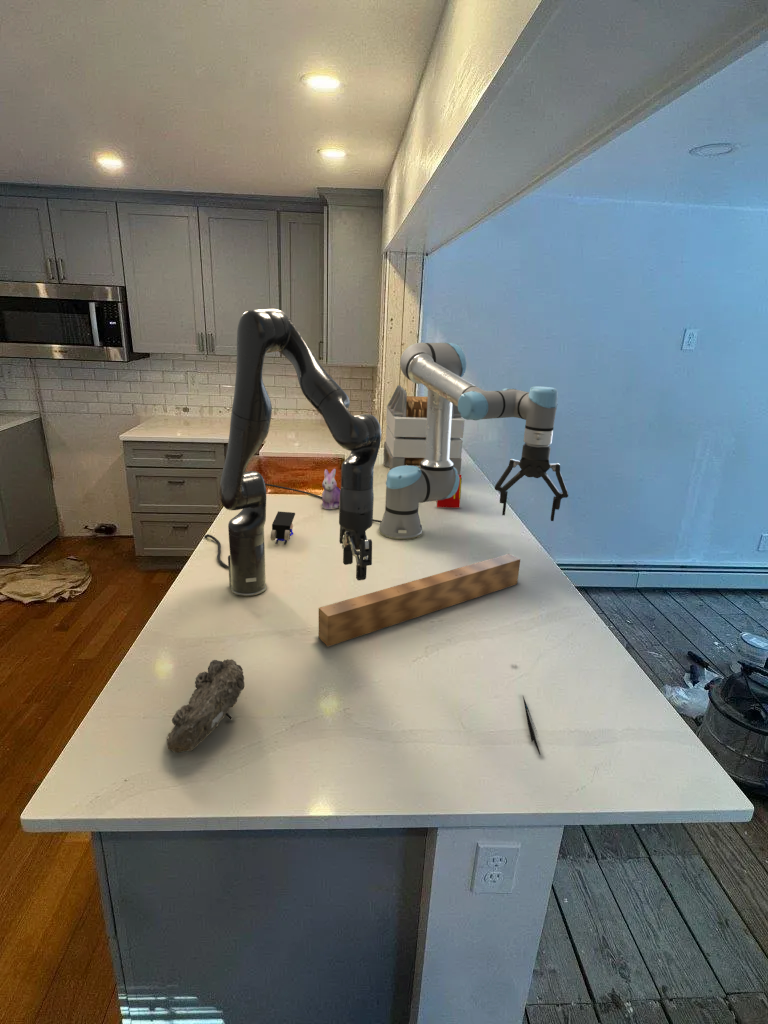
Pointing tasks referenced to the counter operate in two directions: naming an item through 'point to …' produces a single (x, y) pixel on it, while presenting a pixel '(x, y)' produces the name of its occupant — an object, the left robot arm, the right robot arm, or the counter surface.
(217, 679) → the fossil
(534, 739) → the feather
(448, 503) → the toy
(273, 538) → the black wheeled block
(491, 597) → the counter surface
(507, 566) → the bar
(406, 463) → the grey crate
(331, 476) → the figurine
